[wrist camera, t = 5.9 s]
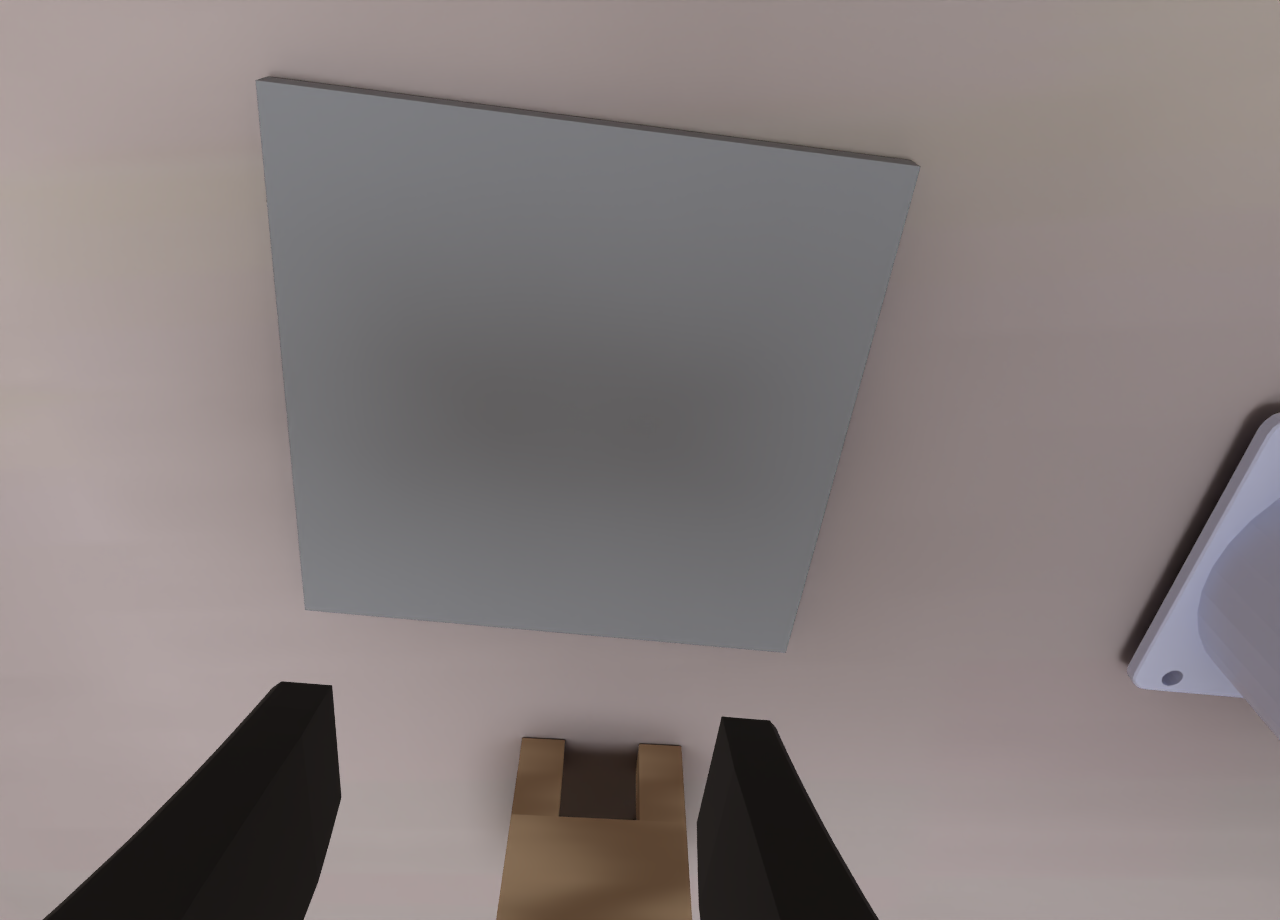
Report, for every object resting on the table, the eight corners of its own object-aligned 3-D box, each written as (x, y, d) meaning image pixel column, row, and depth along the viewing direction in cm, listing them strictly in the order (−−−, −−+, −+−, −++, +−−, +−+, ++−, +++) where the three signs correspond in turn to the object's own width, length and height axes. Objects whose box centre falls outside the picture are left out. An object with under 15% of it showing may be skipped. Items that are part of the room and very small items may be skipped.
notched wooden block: (681, 746, 24) (697, 1006, 18) (665, 846, 26) (675, 1108, 20) (522, 737, 24) (485, 998, 18) (520, 840, 26) (486, 1102, 20)
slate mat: (911, 160, 16) (920, 166, 16) (782, 636, 22) (785, 652, 22) (267, 76, 15) (255, 80, 15) (313, 594, 21) (304, 610, 21)
